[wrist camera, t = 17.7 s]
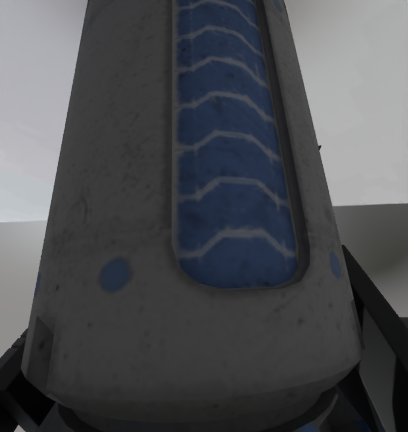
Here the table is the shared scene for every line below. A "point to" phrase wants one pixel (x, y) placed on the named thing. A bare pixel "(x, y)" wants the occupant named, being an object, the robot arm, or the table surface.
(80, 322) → the grey piece
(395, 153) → the table surface
